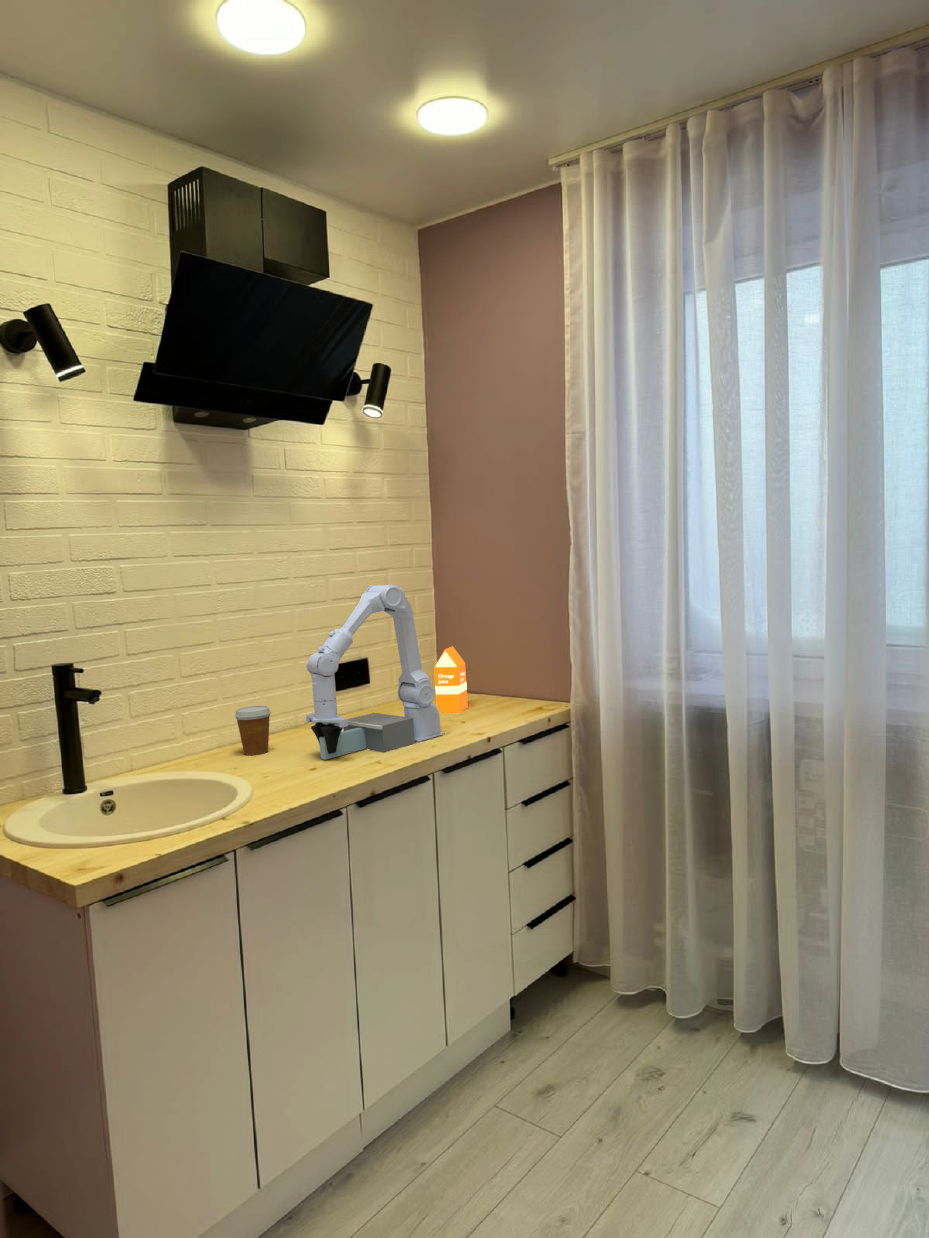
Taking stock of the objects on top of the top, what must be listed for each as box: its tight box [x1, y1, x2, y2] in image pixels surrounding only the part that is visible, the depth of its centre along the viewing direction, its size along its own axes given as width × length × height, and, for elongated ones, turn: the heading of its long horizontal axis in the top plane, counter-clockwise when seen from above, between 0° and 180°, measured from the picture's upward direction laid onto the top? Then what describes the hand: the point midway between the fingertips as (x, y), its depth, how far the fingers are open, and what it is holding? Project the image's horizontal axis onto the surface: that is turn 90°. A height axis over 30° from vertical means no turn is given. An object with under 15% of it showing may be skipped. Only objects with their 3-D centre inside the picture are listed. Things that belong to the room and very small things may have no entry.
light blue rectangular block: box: [319, 727, 367, 761], centre depth 226 cm, size 14×2×6 cm, turn 137°
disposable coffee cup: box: [234, 705, 272, 756], centre depth 234 cm, size 10×10×12 cm
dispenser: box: [342, 712, 416, 753], centre depth 234 cm, size 12×16×7 cm
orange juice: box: [433, 645, 469, 714], centre depth 276 cm, size 8×9×20 cm
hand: (329, 752), depth 223 cm, fingers closed on light blue rectangular block, 2 cm apart
